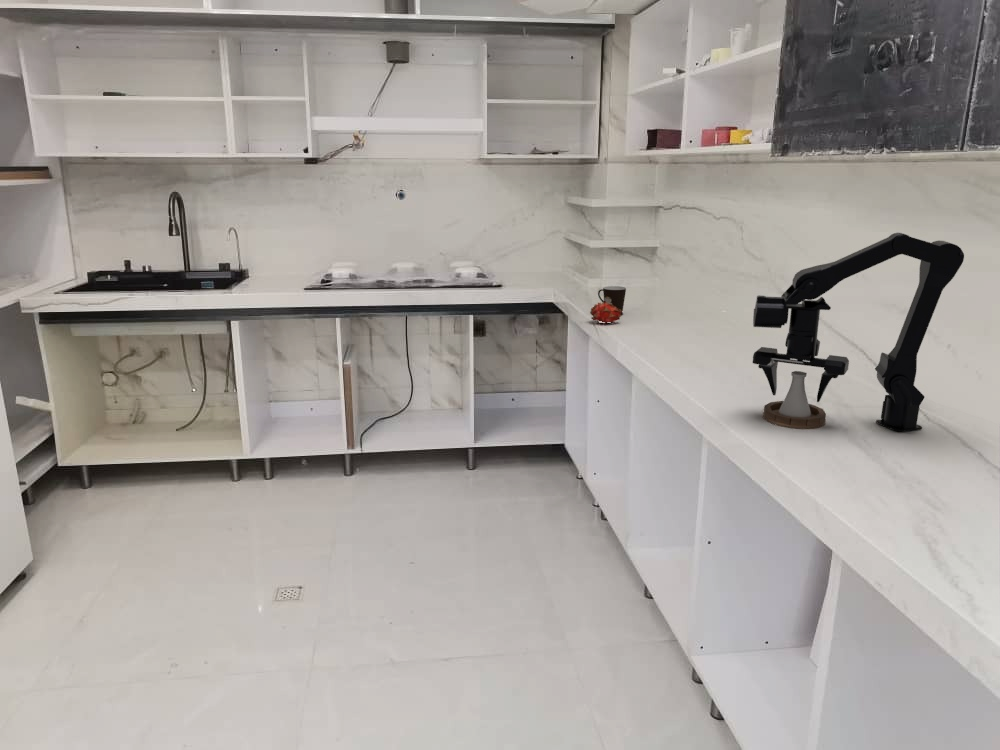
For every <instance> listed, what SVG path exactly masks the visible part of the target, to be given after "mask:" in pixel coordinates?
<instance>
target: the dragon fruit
mask: <svg viewBox="0 0 1000 750" xmlns="http://www.w3.org/2000/svg"><path fill="white" fill-rule="evenodd" d="M589 313H590V315H591V318H590V319H591V320H592V319H593V320H592V321H598V320H599V321H602V322H612V323H614V322H616V321H619V320H620V318H621V317H622V316H623V315H624V313H623V312H622V311H621V310H620V309H617V308H616V307H615V306H614V305H612V303H610V304H607V302H605V303H604V302H597V303H596V304H594V306H593V307H591V309H590V311H589Z"/></svg>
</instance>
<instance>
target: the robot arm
mask: <svg viewBox="0 0 1000 750" xmlns="http://www.w3.org/2000/svg"><path fill="white" fill-rule="evenodd" d="M900 255H904V256H907V257H910V258H913V259H917V260H918V261H920V264H919V274H918V275H919V277H918V278H919V279H918V280H919V281H918V285H917V288H916V291H915V294H914V295H913V298H912V301H911V304H910V307H909V309H908V312H907V314H906V317H905V319H904V322H903V325H902V327H901V330H900V333H899V335H898V338H897V340H896V343H895V345H894V347H893V348H892V350H891V351H890V352H889V353H885V352H881V353H880V358H879V362H878V364H877V365H876V366H875V368H874V370H875V371H876V380H877V381H878V382H879V384H880V385H881V386H882V388H883V389H884V390H885V392H886V394H885V395H884V400H883V402H882V406H881V407H882V408H881V415H880V419H876V420H875V423H876V424H878V425H881V426H883V427H885V428H888V429H890V430H892V431H894V432H898V433H901V432H908V431H909V432H910V431H916V430H922V429H923V426H921V425H920V424H918V419H919V412H920V406H921V404H922V402H923V400H924V399H925V395H924V394H923V393H922V392H921V391H920V390H919V389H918V388H917V387H916V386H915V381H916V376H917V364H918V360H917V359H918V358H917V357H918V353H919V350H920V348H921V345H922V343H923V340H924V338H925V335H926V333H927V330H928V328H929V325H930V323H931V320H932V318H933V314H934V313H935V310H936V308H937V305H938V302H939V299H940V298H941V296H942V295H941V294H942V292H943V290H944V289H945V288H946V286H948V284H950V282H951V281H952V280H953V279H954V277H956V274H957V273H958V271H959V269H960V268H961V267H962V265H963V263H964V260H965V254H964V252H963V250H962V248H961V247H960V246H958V245H957V244H956V243H955V244H954V243H952V242H949V241H946V240H934V241H932V242H930V241H926V240H923V239H919V238H916V237H912V236H910V235H909V234H905V233H902V232H895V233H892V234H890V235H889V236H887V237H886V238H883V239H881V240H879V241H877V242H875V243H872V244H871V245H868V246H866V247H864V248H861V249H859V250H857V251H854V252H852V253H851V254H848V255H846V256H844V257H841V258H839V259H837V260H835V261H832V262H828V263H822V264H817V265H813V266H810V267H807V268H803V269H801V270H799V271H798V272H795V274H794V276H793V278H792V282H791V283H792V284H790V286H789V287H788V288H787V289H786V290H785V291H784V292H783V293H782V294H781V296H766V295H757V296H756V300H755V306H754V308H753V316H752V317H753V319H752V320H753V321H752V322H753V323H752V325H753V328H771V329H781V328H782V326H785V325H787V324H788V319H789V325H788V332H787V335H786V339H785V343H784V344H785V347H786V353H778V348H774V347H773V348H772V347H765V346H761V347H760V348H758V349H757V350H756V351H754V353H753V355H752V364H753V365H757V366H758V369H762V371H763V373H764V375H765V377H766V378H767V381H768V385H769V387H770V391H771V394H772V396H776V394H777V387H778V380H777V379H778V372H777V371H778V364H779V363H784V364H785V363H786V364H792V365H801V366H806V367H816V368H822V369H823V370H824V371H823V373H822V374H821V378H820V382H819V386H818V391H817V395H816V402H817V403H820V401H821V399H822V397H823V395H824V394H825V391H826V389H827V387H828V386H829V383H830V381H831V380H832V379H837V378H838V377H839V376H845V374H846V373H847V372H848V370H849V367H850V366H849V365H850V360H849V358H848V357H847V356H841V355H832V354H829V355H828V356H827V357H826V358H820V357H817V356H818V355H819V351H820V345H821V341H820V340H819V339H818V333H819V332H818V331H819V321H820V314H821V311H830V310H831V308H832V307H831V306H830V305H829V303H827V302H826V300H825V298H824V297H823V296H822V295H824V294H826V293H827V292H828V291H830V290H832V288H834V287H835V286H837V285H838V284H839V283H840V282H842V281H844V280H845V279H847V278H849V277H852V276H854V275H857V274H859V273H861V272H863V271H865V270H868V269H869V268H870V269H871V268H872V267H875V266H876V265H877V266H878V264H882V263H884V262H886V261H888V260H891V259H893V258H895V257H898V256H900ZM817 298H818V299H817ZM815 299H816V300H815ZM789 309H790V315H789ZM789 316H790V317H789Z"/></svg>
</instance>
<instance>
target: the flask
mask: <svg viewBox="0 0 1000 750" xmlns="http://www.w3.org/2000/svg"><path fill="white" fill-rule="evenodd" d="M806 377H807V372H805V371H798V370H794V371H791V383H790V387H789V389H788V392H787V393H786V395H785V398H784V399H783V400H782V401H783V403H782V405H781V407H780V409H779V411H778V414H781V415H786V416H790V417H803V418H805V417H811V411H810V408H809V404H810V403H809V401H808V396H807V392H806V387H805V385H806V384H805V380H806V379H805V378H806Z"/></svg>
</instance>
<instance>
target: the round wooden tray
mask: <svg viewBox="0 0 1000 750" xmlns="http://www.w3.org/2000/svg"><path fill="white" fill-rule="evenodd" d="M783 401H784V400H778V401H771V402H768V403H767V404H765V405H764V406H763V412H762V418H763V419H764V420H765V421H766V420H767V421H766V422H768V423H770V422H771V423H770V424H772V423H773V425H775V424H776V425H775V426H779V427H783V428H787V429H797V430H810V429H813V430H814V429H817V428H818V429H819V428H821V427H824V426H825V425H826V422H827V421H826V418H827V412H825V410H824V409H823V408H821V407H819V406H816V405H815V404H810V403H808V404H809V408H810V411H811V417H805V418H803V417H790V416H786V415H781V414H778V411H779V409H780V407H781V405H782V403H783Z"/></svg>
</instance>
